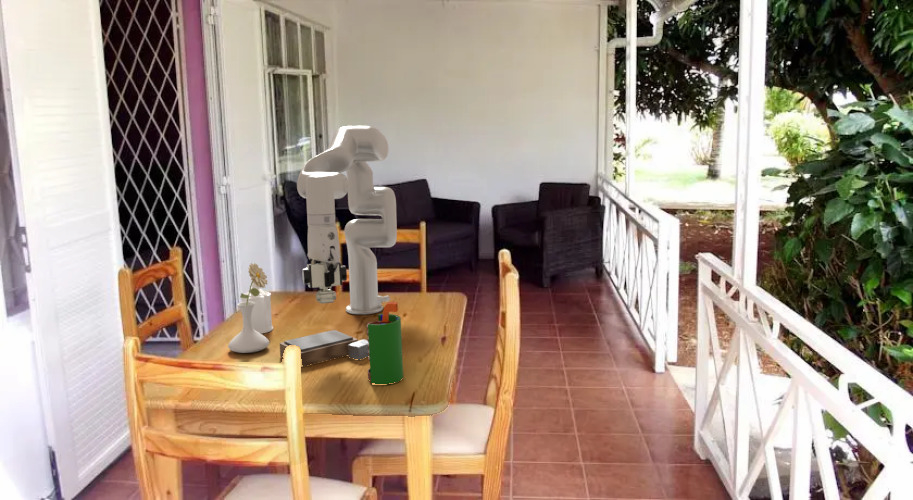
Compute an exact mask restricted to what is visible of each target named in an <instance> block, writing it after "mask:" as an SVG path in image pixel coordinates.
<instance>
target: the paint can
mask: <svg viewBox="0 0 913 500" xmlns="http://www.w3.org/2000/svg"><path fill="white" fill-rule="evenodd" d="M251 283H252V281H251ZM251 283H250V284H251ZM252 288H256V289H257V290H259V292H260V293H259V295H258V296H253V295H252V294H251V293H250V297H249V299H248V301H251V302H255V305H254V306H253V309H252V313H251V322H252V327H253V329H254V330H256V331H257V332H259V333H260V334H262V335H263V334H267V333H270V332H272V331H273V330H274V326H273V320H272V304H271V296H272V293H271V292H269V291H264V289H263V288H262V287H261V288H260V287H259V286H258V287H257V286H256V284H254V282H253V283H252V286H251V289H252ZM243 294H245V295H248V294H249V291H248V292H245V293H243ZM239 298H240V300H241V302H247V298H241V297H239Z"/></svg>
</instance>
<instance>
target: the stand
mask: <svg viewBox="0 0 913 500" xmlns="http://www.w3.org/2000/svg"><path fill="white" fill-rule="evenodd" d="M357 341H359V339H358V338H356V337H353V336H351V335H349V334H347V333H346V334H345V333H344V332H341V331H338V330H336V329H332V330H328V331H323V332H318V333H315V334H314V333H313V334H310V335H305V336H301V337H296V338H292V339H287V340H284V341H282V342H279V354H280V355H279V356H280V358H282V356H283V353H284V350H285V348H286V347H287V346H289V345H296V346H299V347H300V349H301V359H302V365H303V367H302V368H305V367H304V366H306V367H308V366H307V365H310V364H313V365H315V364H314V363H317V364H319V363H318V362H321V363H323V362H322V361H325V362H327V361H326V360H329V361H331V360H330V359H333V360H335V359H334V358H337V359H339V358H338V357H341V358H343V357H342V356H345V357H347V356H346V355H348V345H349V344H352V343H354V342H357ZM310 366H311V365H310Z"/></svg>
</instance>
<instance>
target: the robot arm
mask: <svg viewBox="0 0 913 500" xmlns="http://www.w3.org/2000/svg"><path fill="white" fill-rule="evenodd" d="M388 155H389V143H388V139H387V138H386V136H385V135H384V134H383V133H382V132H381V130H379V129H378V128H377V127H374V126H372V125H371V126H370V125H347V126H345V125H344V126H341V127H338V128H337V129H336V130H335V132H334V133H333V135H332V137H331V140H330V142H329V145H328V147H327V148H326V150H325V151H323V152H321V153H319V154H317V155H315V156H314V157H312V158H310V159H308V160H307V161H306V162H305V163H304V165H303V166H302V168H301V170H300V172H299V174H298V178H297V181H296V189H297V192H298V194H299V196H300V197H302V198H303V199H306V214H307V215H306V216H307V217H306V218H307V254H306V255H307V256H306V257H308V260H309V264H318V263H322V262H324V266H325V271H326V273H324V277H325V287H331V284H334V282H335V278H334V272H336V268H337V266H338V264H339V263H341V261H340V259H341V249H340V248H341V247H340V241H339V239H340V238H339V232H338V229H337V225H336V209H335V208H336V207H335V205H336V204H335V200H338V199H339V200H340V199H343V198H344V197H345V196H346V195H347V200H348V201H347V204H348V210H349V211H350V213H351V214H353V215H357V216H380V217H381V218H380V219H379V218H356V219H352V220H349V221H348V222H347V223H346V225H345V227H344V238H345V241H346V249H347V255H348V257H347V258H348V276H349V277H348V278H349V279H348V280H349V300H350V301H349V302H350V304H348V305H347V306H346V307H345V311H346V312H347V313H349V314H352V315H371V314H372V315H373V314H377V313H380V312H383V310H384V306H383V305H382V304H383V302H390V300H391V297H390V296H389V295H384V296H382V295H379V292H378V287H379V286H378V262H377V261H378V260H377V257H376V255H375V253H374V252H373V251H372V250H371V248H392V247H393V246H394V245H396V243H397V239H398V238H397V237H398V228H397V226H398V225H397V222H398V221H397V200H396V195H395V192H394V190H393V189H392V188H391V187H387V186H374V176H373V175H374V174H373V170H372V168H371V167H370V165H369V164H368V162H382V161H383V162H384V161H385V160H386V159H387V157H388ZM344 172H346V175H345V174H344ZM329 263H331V264H330V266H328V264H329ZM331 288H332V287H331Z"/></svg>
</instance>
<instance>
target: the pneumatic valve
mask: <svg viewBox="0 0 913 500" xmlns="http://www.w3.org/2000/svg"><path fill="white" fill-rule="evenodd" d="M330 264H331V263H329V264H328V266H330ZM301 271H302V273H301V275H302V283H303V285H307V286H308V288H309V289H313V288H319V290H318V291H317V292H316V293H315V300H316V302H318V303H319V304H322V305H323V304H331V303H332V304H333V303H334V302H335V300H337V294H336V291H334V290H332V287H336V286H343V282H346V281H347V279H348V272H347V266H346V265H343V264H342V263H341V262H340V263H339V264H338V266H337V268H336V272H334V278H335V282H334V284H331V287H325V277H324V273H326V271H325V266H324V262H322V263H318V264H311V263H308V264H306V267H305V268H302V270H301ZM328 288H329V289H328Z"/></svg>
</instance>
